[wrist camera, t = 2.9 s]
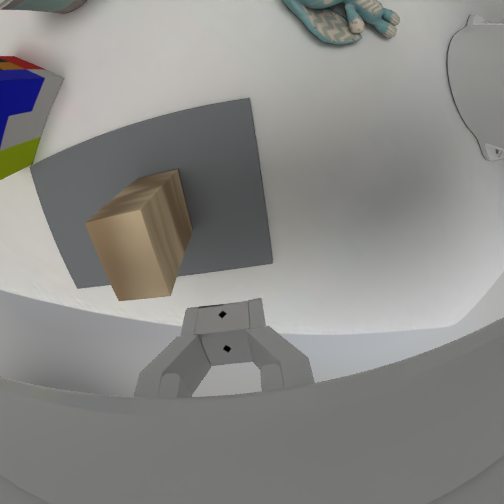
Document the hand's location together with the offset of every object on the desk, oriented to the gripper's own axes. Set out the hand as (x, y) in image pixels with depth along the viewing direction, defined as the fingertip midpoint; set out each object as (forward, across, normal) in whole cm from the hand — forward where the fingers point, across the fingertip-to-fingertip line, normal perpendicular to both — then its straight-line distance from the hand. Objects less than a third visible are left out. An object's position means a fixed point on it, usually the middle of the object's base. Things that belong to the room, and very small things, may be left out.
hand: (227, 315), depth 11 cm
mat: (+16, +9, 0) cm, 19 cm away
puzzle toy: (+16, +21, -16) cm, 31 cm away
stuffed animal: (+16, -12, -18) cm, 26 cm away
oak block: (+16, +6, 0) cm, 17 cm away
